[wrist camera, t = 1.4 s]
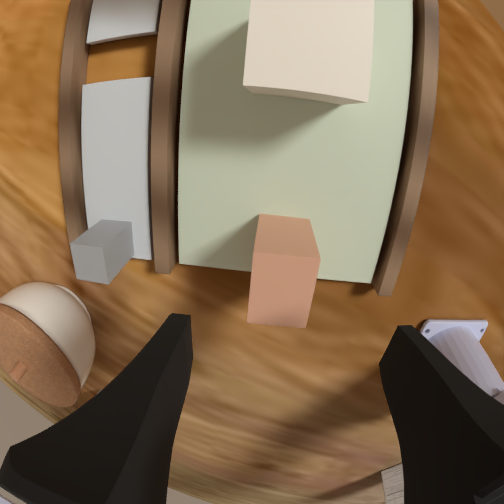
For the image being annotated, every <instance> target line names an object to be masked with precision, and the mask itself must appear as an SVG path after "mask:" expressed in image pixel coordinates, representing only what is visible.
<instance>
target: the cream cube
mask: <svg viewBox="0 0 504 504" xmlns="http://www.w3.org/2000/svg"><path fill="white" fill-rule="evenodd" d="M373 34H374V0H251V4H250V14H249V24H248V34H247V44H246V55H245V66H244V77H243V86H244V87H245V88H246V89H248V90H249V91H250V92H251V93H252V94H264V95H275V96H285V97H293V98H301V99H309V100H315V101H322V102H328V103H334V104H340V105H346V104H357V103H368V99H369V89H370V79H371V66H372V52H373Z"/></svg>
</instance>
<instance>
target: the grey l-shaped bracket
mask: <svg viewBox="0 0 504 504" xmlns="http://www.w3.org/2000/svg"><path fill="white" fill-rule="evenodd" d="M153 84H154V77H142V78H131V79H122V80H114V81H106V82H99V83H92V84H86V85H83V87H82V116H81V138H82V167H83V183H84V195H85V206H86V215H87V223H88V230H87V231H85V232H84V233H83V234H81V235H80V236H79V237H78V238H76V239H75V240H74V241H72V242H71V243H70V247H71V252H72V258H73V263H74V268H75V272H76V277H77V279H80V280H86V281H91V282H97V283H103V284H108V285H109V283H110V282H111V281H112V280H113V279H114V277H115V276H116V275H117V274H118V273H119V272H120V270H121V269H122V268H123V267H124V266H125V265H126V263H127V262H128V261H129V260H130V259H131V258H137V259H145V260H152V259H153V258H154V246H153V229H152V205H151V123H152V100H153Z"/></svg>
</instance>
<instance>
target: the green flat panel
mask: <svg viewBox="0 0 504 504" xmlns="http://www.w3.org/2000/svg"><path fill="white" fill-rule="evenodd" d="M250 4H251V0H191V5H190V13H189V21H188V29H187V38H186V48H185V58H184V70H183V82H182V96H181V113H180V134H179V166H178V237H179V264H187V265H196V266H204V267H213V268H222V269H231V270H240V271H249V272H251V283H250V294H249V305H248V316H247V323H255V324H265V325H275V326H286V327H298V328H306V324H307V320H308V315H309V311H310V307H311V302H312V298H313V293H314V289H315V284H316V279H317V278H318V279H329V280H339V281H350V282H361V283H371V281H372V278H373V274H374V271H375V267H376V264H377V260H378V257H379V253H380V249H381V246H382V242H383V238H384V234H385V230H386V226H387V222H388V217H389V213H390V209H391V204H392V200H393V195H394V190H395V185H396V180H397V175H398V170H399V164H400V158H401V152H402V146H403V140H404V133H405V125H406V118H407V109H408V100H409V90H410V79H411V64H412V42H413V0H374V34H373V52H372V66H371V79H370V89H369V99H368V103H357V104H346V105H340V104H334V103H328V102H322V101H315V100H309V99H301V98H293V97H285V96H275V95H264V94H252V93H251V92H250V91H249V90H248V89H246V88H245V87H244V86H243V77H244V66H245V55H246V44H247V34H248V24H249V14H250Z"/></svg>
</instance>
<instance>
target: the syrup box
mask: <svg viewBox="0 0 504 504" xmlns="http://www.w3.org/2000/svg"><path fill="white" fill-rule="evenodd" d="M381 476H382V482H383V490H384V497H385V504H404V479H403V466H402V463H401V464H399V465H396V466H394V467H391V468H389V469H386V470H383V471H381Z"/></svg>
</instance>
